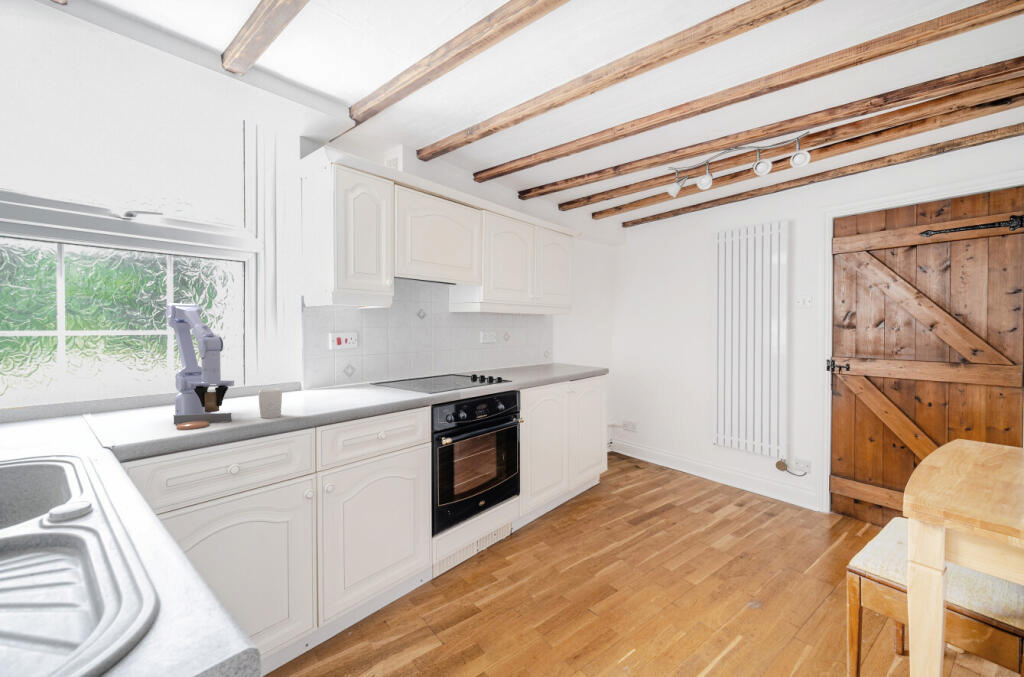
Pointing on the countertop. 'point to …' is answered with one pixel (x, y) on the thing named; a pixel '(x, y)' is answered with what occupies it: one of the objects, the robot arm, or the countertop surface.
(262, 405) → the white cup
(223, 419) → the smoky grey fence
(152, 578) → the countertop surface
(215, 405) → the walnut peg
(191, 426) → the terracotta coaster
